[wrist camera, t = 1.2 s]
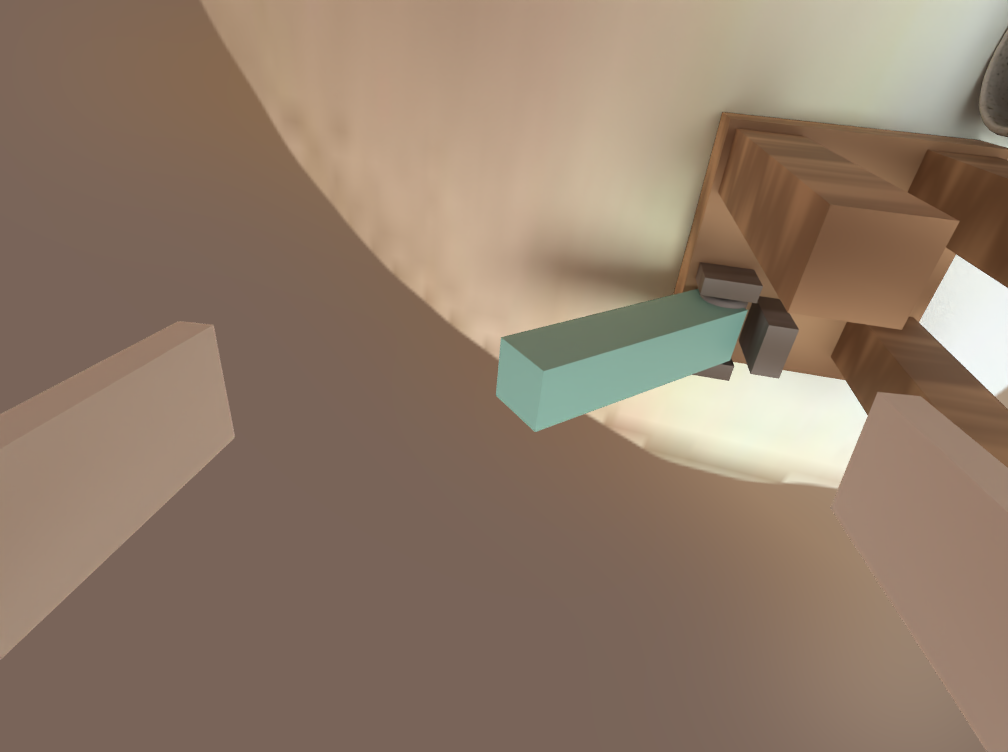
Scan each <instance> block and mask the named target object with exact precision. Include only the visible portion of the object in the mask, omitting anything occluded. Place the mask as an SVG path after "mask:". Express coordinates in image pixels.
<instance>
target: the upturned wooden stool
mask: <svg viewBox="0 0 1008 752" xmlns="http://www.w3.org/2000/svg"><path fill="white" fill-rule="evenodd" d="M956 254H957V255H958V256H960V257H961V258H963V259H964V260H966V261H967V262H969V263H971V264H972V265H974V266H975V267H977V268H978V269H980V270H981V271H983V272H984V273H986V274H987V275H989V276H990V277H992V278H994V279H995V280H997V281H998V282H1000V283H1001V284H1003V285H1004V286H1006V287H1007V288H1008V148H1005V147H1002V146H998V145H995V144H991V143H988V142H984V141H981V140H973V139H964V138H955V137H946V136H937V135H928V134H919V133H909V132H900V131H891V130H882V129H873V128H864V127H854V126H845V125H836V124H827V123H818V122H809V121H800V120H790V119H781V118H772V117H763V116H754V115H745V114H735V113H726V112H722V116H721V120H720V123H719V127H718V131H717V135H716V138H715V142H714V146H713V149H712V153H711V157H710V161H709V164H708V168H707V172H706V175H705V179H704V183H703V187H702V190H701V194H700V198H699V201H698V205H697V209H696V213H695V216H694V220H693V224H692V228H691V231H690V235H689V239H688V242H687V246H686V250H685V254H684V257H683V261H682V265H681V268H680V272H679V276H678V280H677V283H676V287H675V291H674V294H678V293H683V292H687V291H691V290H695V289H699V293H700V295H704V296H711V297H717V298H724V299H731V300H737V301H744V302H748V305H747V308H746V309H747V310H748V311H747V314H746V317H745V319H744V322H743V325H742V328H741V331H740V334H739V336H738V339H737V342H736V345H735V348H734V351H733V353H732V356H731V359H730V361H727V362H724V363H722V364H719V365H716V366H714V367H711V368H708V369H705V370H703V371H700V372H697V373H694V374H692V375H698V376H704V377H710V378H715V379H721V380H727V381H729V379H730V376H731V373H732V371H733V368H734V365H733V362H738V363H744V364H747V365H748V368H749V371H750V374H755V375H761V376H767V377H773V378H779V377H780V374H781V372H782V370H787V371H793V372H799V373H805V374H811V375H817V376H823V377H830V378H836V379H842V380H846V382H847V383H848V385H849V386H850V388H851V390H852V391H853V393H854V394H855V396H856V397H857V399H858V401H859V402H860V404H861V405H862V407H863V408H864V410H865V412H866V413H867V415H868V414H869V412H870V409H871V407H872V404H873V402H874V400H875V397H876V395H877V392H884V393H893V394H903V395H913V396H921V397H922V398H923V399H925V400H926V401H927V402H928V403H930V404H931V405H932V406H933V407H934V408H936V409H937V410H938V411H939V412H941V413H942V414H943V415H944V416H945V417H947V418H948V419H949V420H950V421H951V422H953V423H954V424H955V425H956V426H958V427H959V428H960V429H961V430H962V431H964V432H965V433H966V434H967V435H968V436H970V437H971V438H972V439H973V440H975V441H976V442H977V443H978V444H979V445H981V446H982V447H983V448H984V449H986V450H987V451H988V452H989V453H990V454H992V455H993V456H994V457H995V458H996V459H998V460H999V461H1000V462H1001V463H1003V464H1004V465H1005V466H1006V467H1007V468H1008V409H1007V408H1006V407H1005V406H1004V405H1003V404H1002V403H1001V402H999V400H998V399H997V398H996V397H995V396H994V395H993V394H992V393H991V392H990V391H988V390H987V389H986V388H985V387H984V386H983V385H982V384H981V383H980V382H979V381H978V380H977V379H976V378H975V377H974V376H973V375H972V374H971V373H970V372H969V371H968V370H967V369H966V368H965V367H964V366H963V365H962V364H961V363H960V362H959V361H958V360H957V359H956V358H955V357H954V356H953V355H952V354H951V353H950V352H948V351H947V350H946V349H945V348H944V347H943V346H942V345H941V344H940V343H939V342H938V341H937V340H936V339H935V338H934V337H933V336H932V335H931V334H930V333H929V332H928V331H927V330H926V329H925V328H924V327H923V326H922V325H921V324H920V323H919V321H920V319H921V317H922V315H923V314H924V312H925V310H926V308H927V306H928V304H929V303H930V301H931V299H932V297H933V295H934V293H935V292H936V290H937V288H938V286H939V284H940V283H941V281H942V279H943V277H944V275H945V273H946V272H947V270H948V268H949V266H950V264H951V262H952V261H953V259H954V257H955V255H956ZM674 294H673V295H674Z"/></svg>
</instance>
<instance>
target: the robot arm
mask: <svg viewBox="0 0 1008 752" xmlns="http://www.w3.org/2000/svg"><path fill="white" fill-rule="evenodd" d="M234 438H235V435H234V430H233V425H232V419H231V414H230V409H229V404H228V398H227V393H226V388H225V383H224V378H223V372H222V367H221V362H220V356H219V351H218V346H217V341H216V335H215V330H214V325H211V324H201V323H192V322H182V321H178V322H176V323H174V324H172V325H170V326H168V327H167V328H165V329H163V330H161V331H159V332H157V333H155V334H153V335H151V336H149V337H147V338H145V339H144V340H142V341H140V342H138V343H136V344H134V345H132V346H130V347H128V348H126V349H124V350H123V351H121V352H119V353H117V354H115V355H113V356H111V357H109V358H107V359H105V360H103V361H101V362H100V363H98V364H96V365H94V366H92V367H90V368H88V369H86V370H84V371H83V372H80V373H78V374H77V375H75V376H73V377H71V378H69V379H67V380H65V381H64V382H62V383H59V384H57V385H55V386H54V387H52V388H50V389H48V390H46V391H44V392H42V393H40V394H38V395H36V396H34V397H33V398H31V399H29V400H27V401H25V402H23V403H21V404H19V405H17V406H15V407H13V408H11V409H10V410H8V411H6V412H4V413H2V414H0V660H1V659H2V658H3V657H4V656H5V655H6V654H7V653H8V652H9V651H10V650H11V649H12V648H13V647H14V646H15V645H16V644H17V643H18V642H20V641H21V640H22V639H23V638H24V637H25V636H26V635H27V634H28V633H29V632H30V631H31V630H32V629H33V628H34V627H35V626H36V625H38V623H40V622H41V621H42V620H43V619H44V618H45V617H46V616H47V615H48V614H49V613H50V612H51V611H52V610H53V609H54V608H55V607H57V606H58V605H59V604H60V603H61V602H62V601H63V600H64V599H65V598H66V597H67V596H68V595H69V594H70V593H71V592H72V591H73V590H74V589H75V588H76V587H78V586H79V585H80V584H81V583H82V582H83V581H84V580H85V579H86V578H87V577H88V576H89V575H90V574H91V573H92V572H93V571H94V570H96V568H98V567H99V566H100V565H101V564H102V563H103V562H104V561H105V560H106V559H107V558H108V557H109V556H110V555H111V554H112V553H113V552H115V551H116V550H117V548H119V547H120V546H121V545H122V544H123V543H124V542H125V541H126V540H127V539H128V538H129V537H130V536H131V535H132V534H134V532H136V531H137V530H138V529H139V528H140V527H141V526H142V525H143V524H144V523H145V522H146V521H147V520H148V519H149V518H150V517H151V516H152V515H154V514H155V513H156V512H157V511H158V510H159V509H160V508H161V507H162V506H163V505H164V504H165V503H166V502H167V501H168V500H169V499H170V498H171V497H172V496H174V495H175V494H176V493H177V492H178V491H179V490H180V489H181V488H182V487H183V486H184V485H185V484H186V483H187V482H188V481H189V480H190V479H192V478H193V477H194V476H195V474H197V473H198V472H199V471H200V470H201V469H202V468H203V467H204V466H205V465H206V464H207V463H208V462H209V461H211V460H212V459H213V458H214V457H215V456H216V455H217V454H218V453H219V452H220V451H221V450H222V449H223V448H224V447H225V446H226V445H227V444H228V443H229V442H231V441H232V440H233V439H234ZM831 510H832V512H833V513H834V515H835V516H836V518H837V519H838V521H839V522H840V524H841V526H842V527H843V529H844V530H845V532H846V533H847V535H848V536H849V538H850V540H851V541H852V543H853V544H854V546H855V547H856V549H857V550H858V552H859V553H860V555H861V557H862V558H863V560H864V561H865V563H866V564H867V566H868V568H869V569H870V571H871V572H872V574H873V575H874V577H875V578H876V580H877V582H878V583H879V585H880V586H881V588H882V589H883V591H884V593H885V594H886V596H887V597H888V599H889V600H890V602H891V603H892V605H893V607H894V608H895V610H896V611H897V613H898V614H899V616H900V617H901V619H902V621H903V622H904V624H905V625H906V627H907V628H908V630H909V631H910V633H911V634H912V636H913V638H914V639H915V641H916V642H917V644H918V645H919V647H920V648H921V650H922V652H923V653H924V655H925V656H926V658H927V659H928V661H929V662H930V664H931V666H932V667H933V669H934V670H935V672H936V673H937V675H938V676H939V678H940V680H941V681H942V683H943V684H944V686H945V687H946V689H947V691H948V692H949V694H950V695H951V697H952V698H953V700H954V701H955V703H956V705H957V706H958V708H959V709H960V711H961V712H962V714H963V716H964V717H965V719H966V720H967V722H968V723H969V725H970V726H971V728H972V729H973V731H974V733H975V734H976V736H977V737H978V739H979V740H980V742H981V743H982V745H983V746H984V748H985V750H986V751H987V752H1008V468H1007V467H1006V466H1005V465H1004V464H1003V463H1001V462H1000V461H999V460H998V459H996V458H995V457H994V456H993V455H992V454H990V453H989V452H988V451H987V450H986V449H984V448H983V447H982V446H981V445H979V444H978V443H977V442H976V441H975V440H973V439H972V438H971V437H970V436H968V435H967V434H966V433H965V432H964V431H962V430H961V429H960V428H959V427H958V426H956V425H955V424H954V423H953V422H951V421H950V420H949V419H948V418H947V417H945V416H944V415H943V414H942V413H941V412H939V411H938V410H937V409H936V408H934V407H933V406H932V405H931V404H930V403H928V402H927V401H926V400H925V399H923V398H922V397H921V396H913V395H903V394H893V393H884V392H877V395H876V397H875V400H874V402H873V404H872V407H871V409H870V412H869V414H868V417H867V419H866V422H865V424H864V427H863V429H862V431H861V434H860V436H859V439H858V441H857V444H856V446H855V449H854V451H853V454H852V456H851V458H850V461H849V463H848V466H847V468H846V471H845V473H844V476H843V478H842V481H841V483H840V485H839V488H838V490H837V493H836V495H835V498H834V500H833V503H832V505H831Z"/></svg>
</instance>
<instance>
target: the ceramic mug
mask: <svg viewBox="0 0 1008 752" xmlns="http://www.w3.org/2000/svg"><path fill="white" fill-rule="evenodd" d="M979 111H980V115H981V118H982V120H983V123H984V124H985V125H986V126H987V127H988V129H989V130H990V131H992V132H994V133H996V134H997V135H1001V136H1005V137H1008V30H1007V31H1006V33H1005V34H1004V36H1003V38H1002V40H1001V42H1000V43H999V45H998V47H997V48H996V50H995V52H994V55H993V57H992V59H991V60H990V63H989V66H988V68H987V70H986V73H985V75H984V78H983V81H982V88H981V92H980V97H979Z"/></svg>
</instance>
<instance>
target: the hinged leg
mask: <svg viewBox="0 0 1008 752" xmlns="http://www.w3.org/2000/svg"><path fill="white" fill-rule="evenodd" d="M747 305H748V302H744V301H737V300H731V299H724V298H717V297H711V296H704V295H700V293H699V289H695V290H691V291H687V292H683V293H678V294H674V295H670V296H666V297H662V298H658V299H654V300H650V301H646V302H642V303H638V304H634V305H630V306H626V307H622V308H618V309H614V310H610V311H606V312H602V313H598V314H594V315H590V316H586V317H582V318H578V319H573V320H569V321H565V322H561V323H557V324H553V325H549V326H545V327H541V328H537V329H533V330H529V331H525V332H521V333H517V334H513V335H509V336H505V337H501V344H500V356H499V367H498V378H497V390H496V396H497V397H498V398H499V399H500V400H501V401H502V402H504V403H505V404H506V405H507V406H508V407H509V408H510V409H511V410H512V411H513V412H514V413H515V414H516V415H518V417H520V418H521V419H522V420H523V421H524V422H525V423H526V424H527V425H528V426H529V427H530V428H531V429H532V430H534V431H535V432H536V431H539V430H542V429H544V428H547V427H550V426H553V425H555V424H558V423H561V422H563V421H566V420H569V419H572V418H575V417H577V416H580V415H583V414H585V413H588V412H591V411H594V410H596V409H599V408H602V407H605V406H607V405H610V404H613V403H615V402H618V401H621V400H624V399H626V398H629V397H632V396H635V395H637V394H640V393H643V392H645V391H648V390H651V389H654V388H656V387H659V386H662V385H665V384H667V383H670V382H673V381H675V380H678V379H681V378H684V377H686V376H689V375H692V374H694V373H697V372H700V371H703V370H705V369H708V368H711V367H714V366H716V365H719V364H722V363H724V362H727V361H730V359H731V356H732V353H733V351H734V348H735V345H736V342H737V339H738V336H739V334H740V331H741V328H742V325H743V322H744V319H745V317H746V314H747V311H748V310H747V309H746V308H747Z"/></svg>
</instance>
